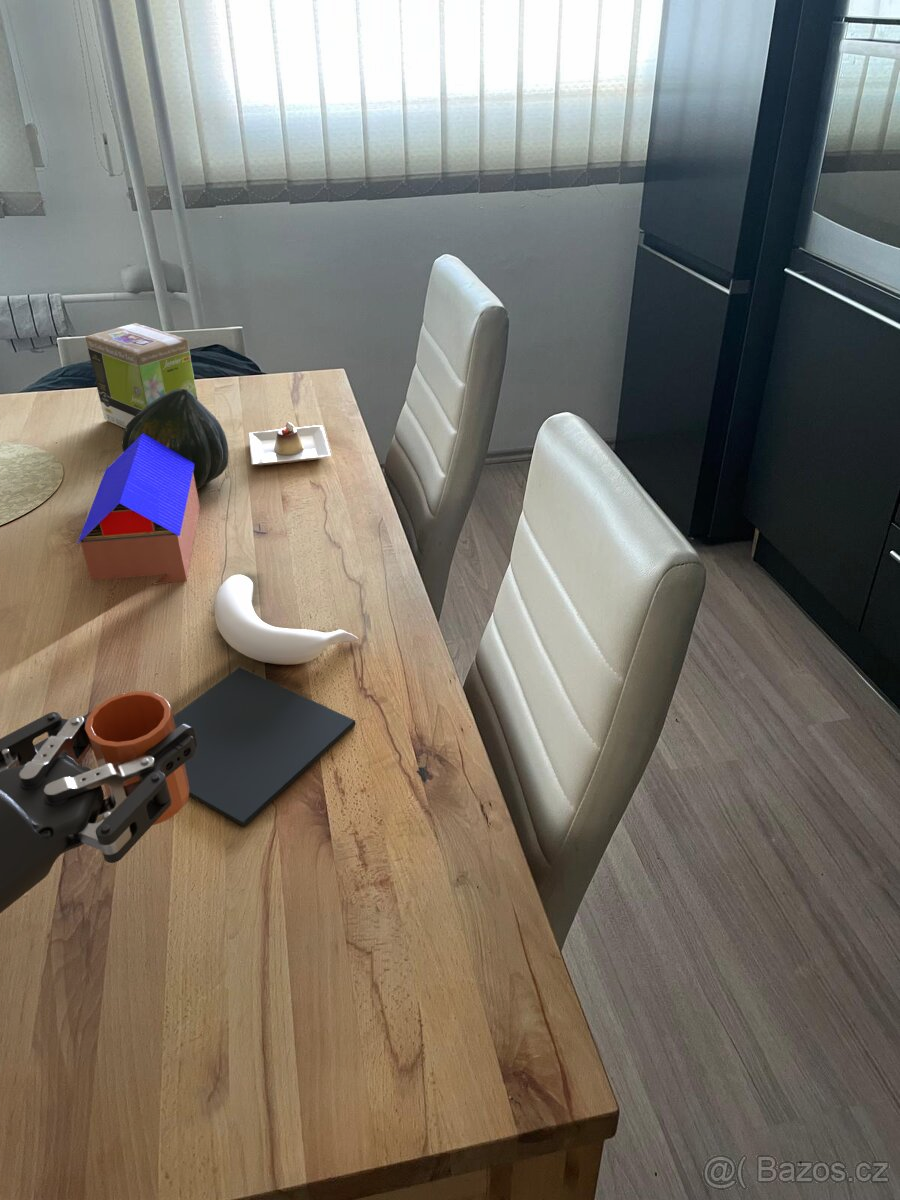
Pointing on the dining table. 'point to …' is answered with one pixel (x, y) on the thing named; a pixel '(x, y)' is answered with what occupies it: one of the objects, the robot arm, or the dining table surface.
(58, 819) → the robot arm
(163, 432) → the squash
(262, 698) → the mat
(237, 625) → the banana
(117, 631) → the dining table surface
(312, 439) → the dessert
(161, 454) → the house
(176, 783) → the cup
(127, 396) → the tea box
